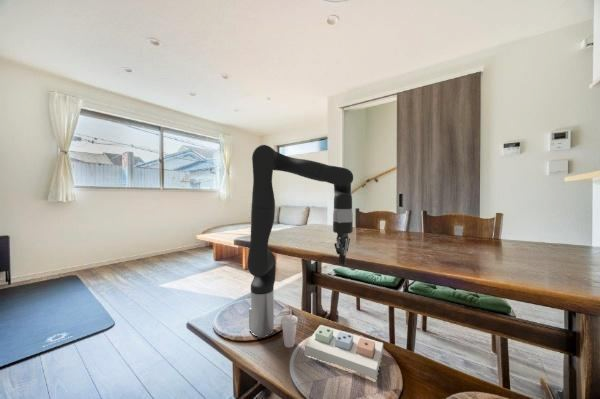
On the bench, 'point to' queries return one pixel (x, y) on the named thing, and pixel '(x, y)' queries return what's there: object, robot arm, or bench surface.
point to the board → (345, 354)
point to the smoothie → (289, 329)
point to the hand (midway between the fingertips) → (342, 264)
